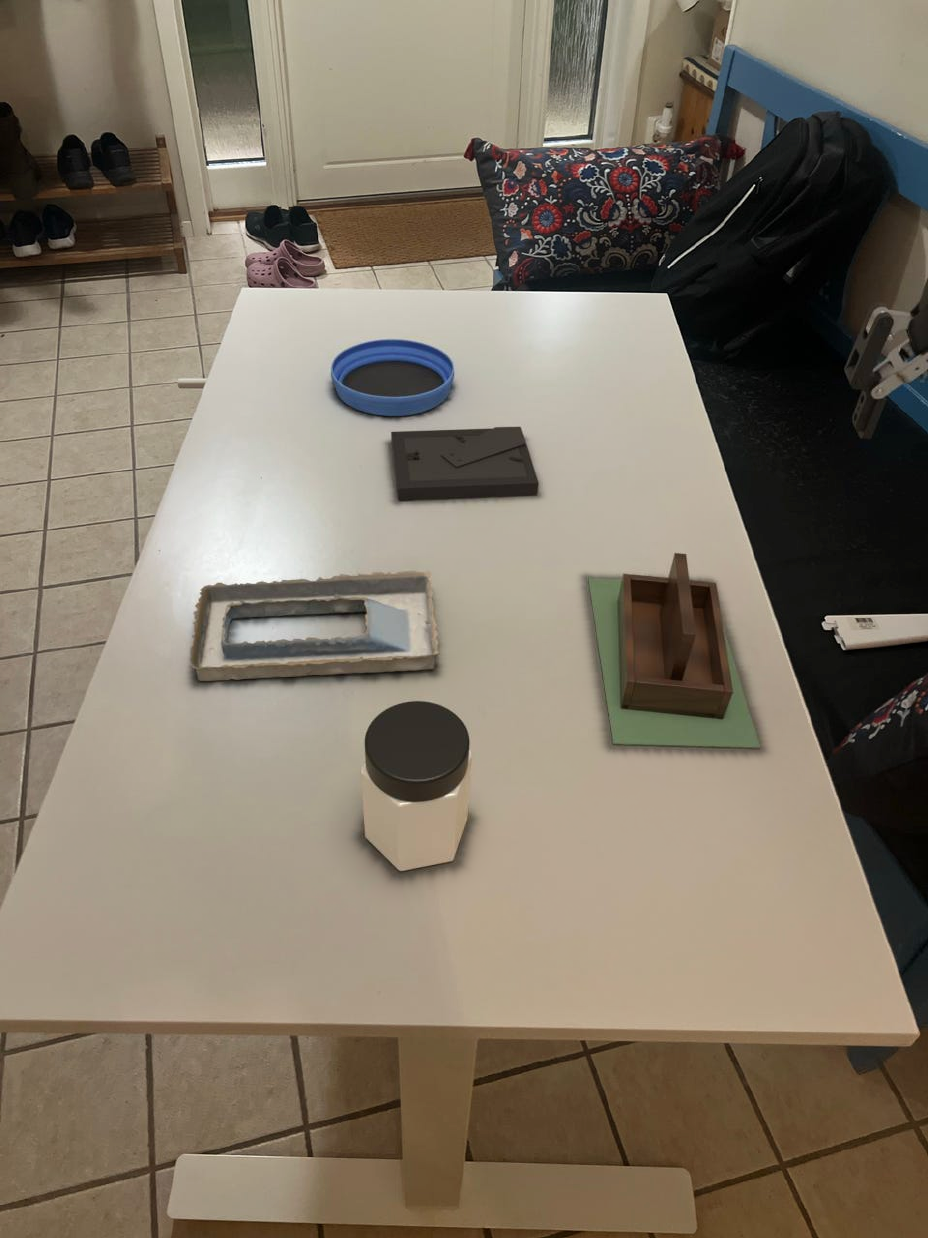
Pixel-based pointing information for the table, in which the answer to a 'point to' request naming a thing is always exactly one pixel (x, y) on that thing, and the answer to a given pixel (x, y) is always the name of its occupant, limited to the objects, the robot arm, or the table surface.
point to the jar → (416, 783)
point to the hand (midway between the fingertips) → (915, 439)
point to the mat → (654, 725)
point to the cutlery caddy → (672, 645)
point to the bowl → (392, 377)
